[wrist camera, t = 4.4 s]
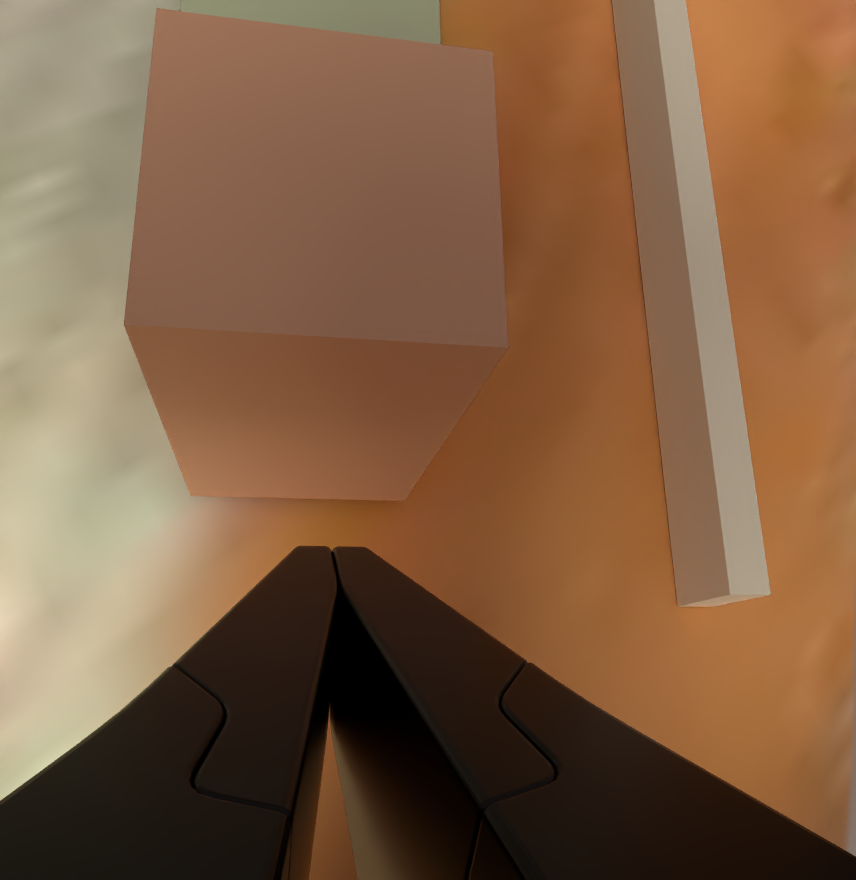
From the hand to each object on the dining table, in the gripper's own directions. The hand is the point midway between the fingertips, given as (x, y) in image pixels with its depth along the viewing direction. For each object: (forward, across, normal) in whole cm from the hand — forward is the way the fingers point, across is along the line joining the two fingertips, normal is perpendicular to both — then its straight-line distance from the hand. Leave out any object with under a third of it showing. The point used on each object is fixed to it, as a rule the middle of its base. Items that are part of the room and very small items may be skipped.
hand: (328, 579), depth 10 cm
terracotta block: (+14, 0, -4) cm, 15 cm away
